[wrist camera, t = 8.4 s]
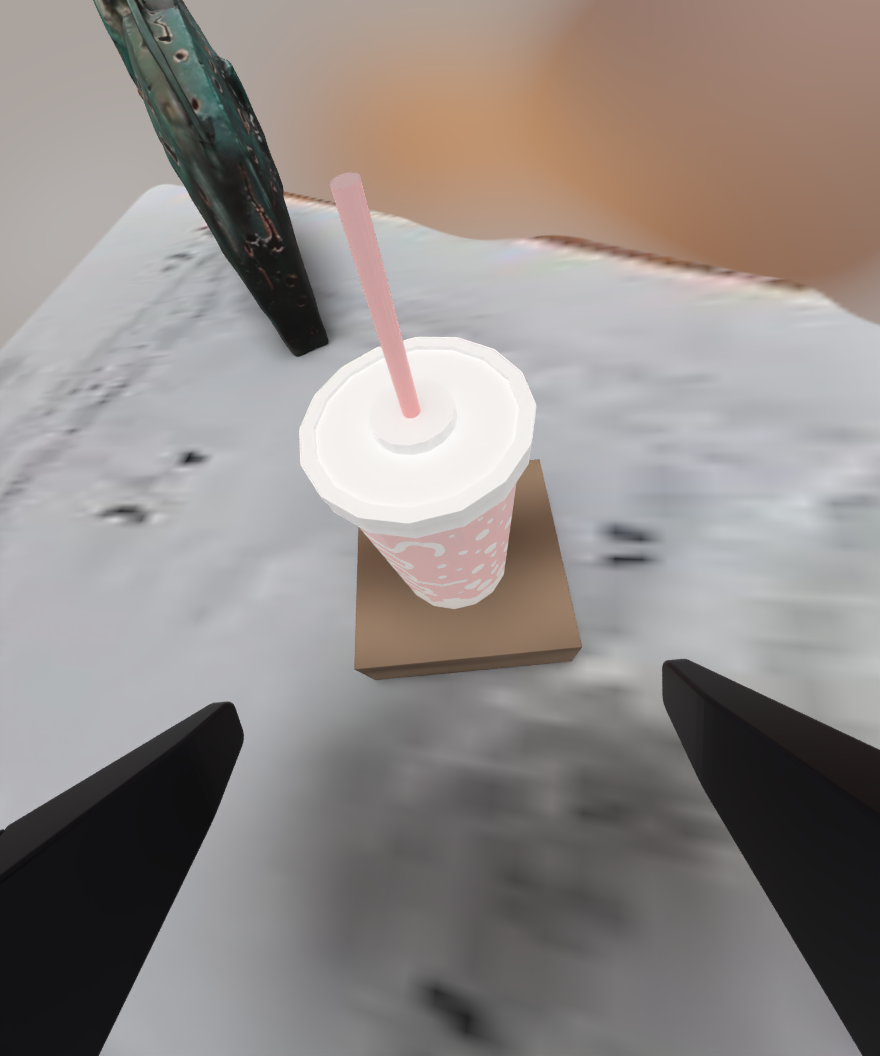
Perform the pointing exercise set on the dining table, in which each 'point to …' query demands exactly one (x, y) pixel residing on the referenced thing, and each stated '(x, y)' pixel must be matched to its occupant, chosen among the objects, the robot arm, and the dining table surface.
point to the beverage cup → (420, 440)
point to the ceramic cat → (218, 156)
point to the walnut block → (472, 606)
